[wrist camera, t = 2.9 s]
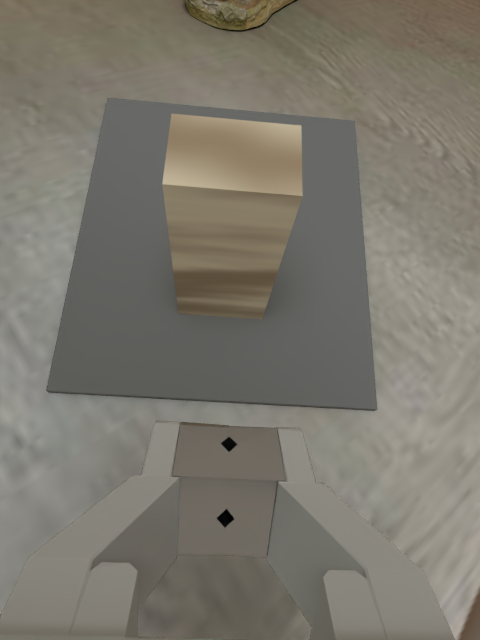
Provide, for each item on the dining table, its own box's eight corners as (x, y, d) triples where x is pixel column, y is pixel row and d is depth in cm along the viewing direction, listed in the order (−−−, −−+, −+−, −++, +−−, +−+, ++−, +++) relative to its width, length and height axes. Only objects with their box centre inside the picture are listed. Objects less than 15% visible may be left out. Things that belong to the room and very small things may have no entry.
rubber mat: (374, 410, 31) (377, 409, 30) (48, 392, 29) (46, 390, 29) (352, 125, 41) (354, 121, 40) (108, 102, 39) (107, 97, 39)
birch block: (262, 319, 32) (302, 196, 19) (178, 313, 32) (162, 184, 19) (263, 270, 34) (301, 125, 21) (183, 264, 33) (171, 113, 20)
